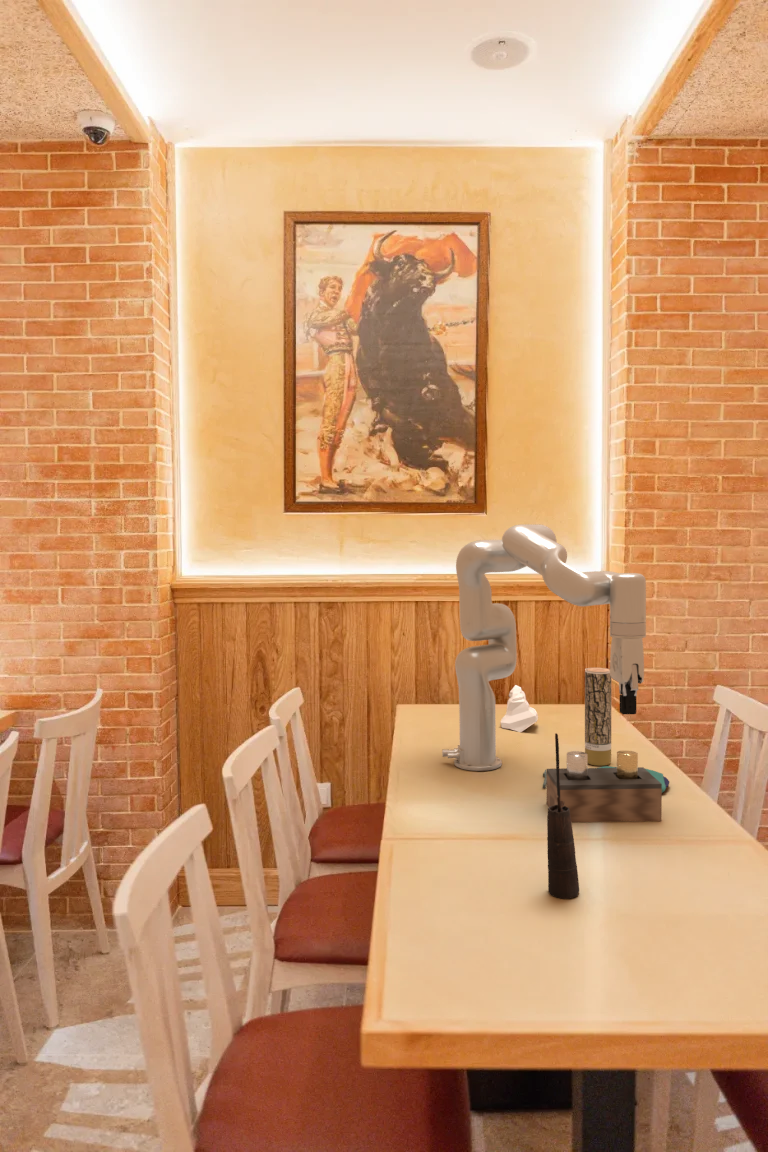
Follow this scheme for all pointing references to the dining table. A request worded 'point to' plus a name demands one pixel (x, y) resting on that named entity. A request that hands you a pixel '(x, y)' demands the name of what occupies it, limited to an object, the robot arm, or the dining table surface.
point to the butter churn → (561, 847)
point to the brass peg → (627, 765)
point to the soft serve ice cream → (518, 711)
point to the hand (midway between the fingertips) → (627, 713)
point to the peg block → (607, 796)
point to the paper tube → (598, 716)
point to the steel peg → (576, 765)
